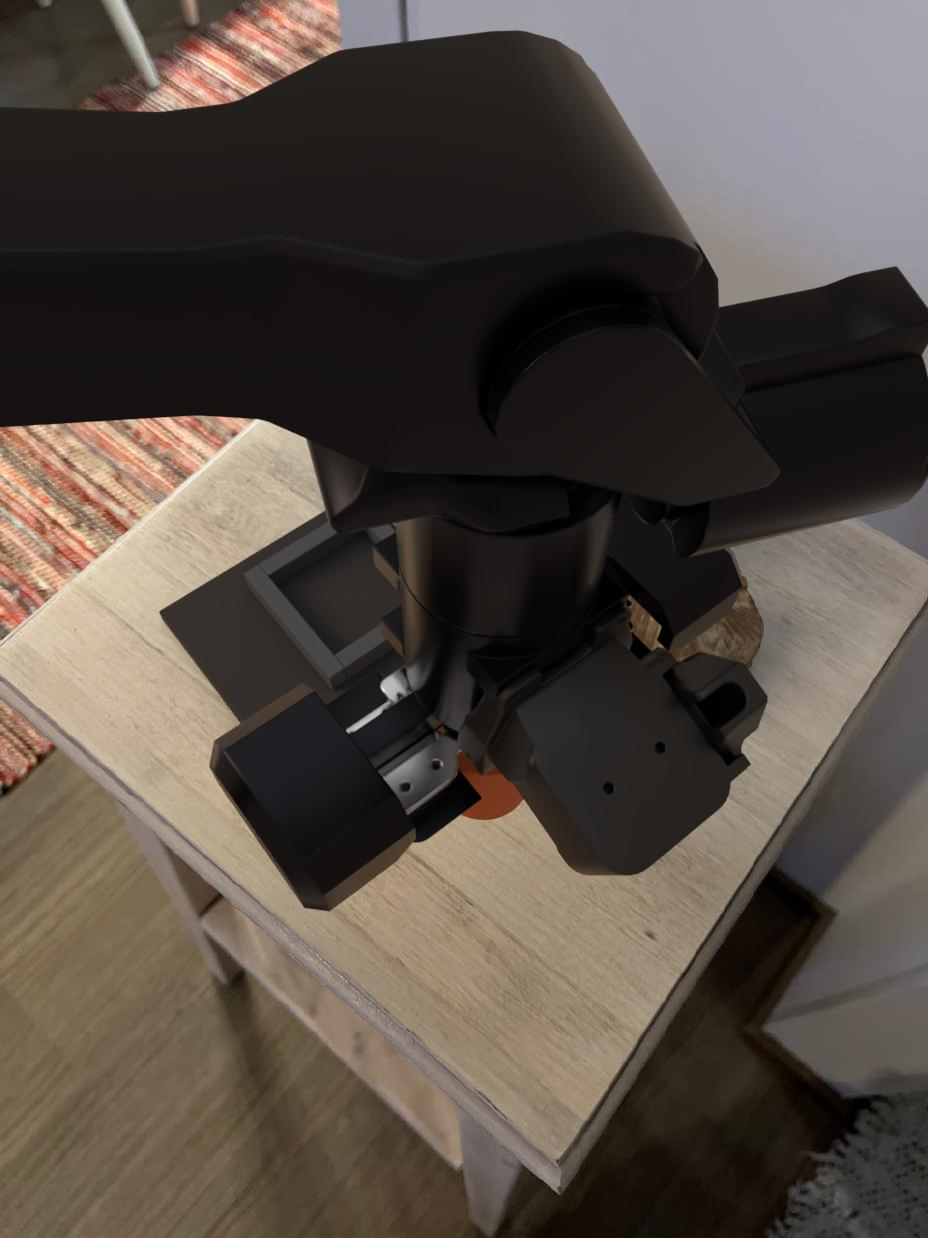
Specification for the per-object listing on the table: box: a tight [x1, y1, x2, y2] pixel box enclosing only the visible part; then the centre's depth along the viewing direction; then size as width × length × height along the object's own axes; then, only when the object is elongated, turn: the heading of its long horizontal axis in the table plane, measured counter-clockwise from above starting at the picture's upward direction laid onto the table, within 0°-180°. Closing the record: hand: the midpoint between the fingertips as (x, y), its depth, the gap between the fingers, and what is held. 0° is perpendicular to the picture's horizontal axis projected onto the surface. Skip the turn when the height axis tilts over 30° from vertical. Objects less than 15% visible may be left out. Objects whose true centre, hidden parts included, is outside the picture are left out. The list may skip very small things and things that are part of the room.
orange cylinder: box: [438, 727, 524, 821], centre depth 40 cm, size 4×4×5 cm
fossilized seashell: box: [628, 575, 765, 670], centre depth 54 cm, size 8×7×10 cm
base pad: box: [158, 510, 406, 724], centre depth 56 cm, size 14×12×2 cm
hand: (482, 764), depth 41 cm, fingers closed on orange cylinder, 4 cm apart
